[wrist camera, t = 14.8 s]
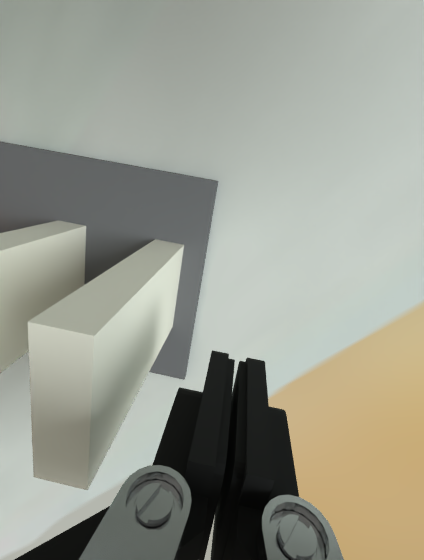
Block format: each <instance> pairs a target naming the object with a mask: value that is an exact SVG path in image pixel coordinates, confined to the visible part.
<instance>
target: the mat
mask: <svg viewBox="0 0 424 560" xmlns="http://www.w3.org/2000/svg"><path fill="white" fill-rule="evenodd" d="M217 185H218V181H215V180H209V179H204V178H198V177H193V176H187V175H182V174H176V173H171V172H165V171H160V170H154V169H149V168H143V167H138V166H132V165H127V164H121V163H115V162H110V161H104V160H99V159H93V158H88V157H82V156H77V155H71V154H66V153H60V152H55V151H49V150H44V149H38V148H33V147H27V146H22V145H16V144H10V143H5V142H0V233H4V232H8V231H13V230H17V229H22V228H26V227H31V226H35V225H40V224H44V223H49V222H53V221H58V220H59V221H64V222H69V223H74V224H80V225H85V226H86V248H85V282H84V285H85V284H87V283H88V282H90V281H91V280H93V279H95V278H96V277H98V276H99V275H101V274H102V273H104V272H105V271H107V270H108V269H110V268H112V267H113V266H115V265H116V264H118V263H119V262H121V261H122V260H124V259H125V258H127V257H129V256H130V255H132V254H133V253H135V252H136V251H138V250H139V249H141V248H142V247H144V246H146V245H147V244H149V243H150V242H152V241H153V240H155V239H157V240H162V241H167V242H172V243H177V244H182V245H184V250H183V257H182V264H181V271H180V278H179V285H178V292H177V299H176V306H175V314H174V321H173V327H172V329H171V331H170V333H169V335H168V337H167V338H166V340H165V342H164V344H163V346H162V348H161V350H160V352H159V354H158V356H157V358H156V360H155V362H154V363H153V365H152V367H151V369H150V371H149V372H152V373H157V374H161V375H166V376H170V377H175V378H179V379H185V376H186V371H187V365H188V359H189V353H190V347H191V341H192V335H193V329H194V323H195V317H196V311H197V305H198V299H199V293H200V287H201V281H202V275H203V269H204V263H205V257H206V251H207V245H208V239H209V233H210V227H211V221H212V215H213V209H214V203H215V197H216V191H217Z"/></svg>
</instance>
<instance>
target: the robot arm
mask: <svg viewBox="0 0 424 560" xmlns="http://www.w3.org/2000/svg"><path fill="white" fill-rule="evenodd" d="M228 356H229V354H227V353H222V352H217V351H212V353H211V358H210V362H209V367H208V371H207V376H206V381H205V385H204V390H203V392H198V391H193V390H189V389H184V388H179V389H178V392H177V395H176V397H175V400H174V403H173V406H172V409H171V412H170V415H169V418H168V421H167V424H166V427H165V430H164V433H163V436H162V439H161V442H160V445H159V448H158V451H157V454H156V457H155V460H154V462H153V465H152V466H147V467H144V468H141V469H139V470H137V471H136V472H135V473H133V474H132V475H130V476H129V478H128V479H127V480H126V481H125V483H124V484H123V485H122V487H121V489H120V490H119V492H118V494H117V496H116V497H115V499H114V501H113V502H112V504H111V506H109V507H107V508H106V509H104V510H102V511H100V512H99V513H97V514H95V515H93V516H91V517H90V518H88V519H86V520H84V521H82V522H81V523H79V524H77V525H75V526H73V527H72V528H70V529H69V530H66V531H65V532H63V533H61V534H59V535H57V536H56V537H54V538H52V539H51V540H49V541H47V542H45V543H43V544H41V545H40V546H38V547H36V548H34V549H33V550H31V551H29V552H27V553H25V554H24V555H22V556H20V557H18V558H17V559H15V560H204V557H205V553H206V549H207V545H208V540H209V536H210V532H211V528H212V524H213V519H214V515H215V521H214V530H213V540H212V550H211V560H344V559H343V556H342V554H341V551H340V548H339V545H338V543H337V540H336V537H335V535H334V532H333V530H332V528H331V526H330V524H329V523H328V521H327V520H326V518H325V517H324V516H323V515H322V513H321V512H320V511H319V510H318V509H317V508H315V507H314V506H313V505H312V504H311V503H309V502H307V501H305V500H304V499H302V498H300V497H299V494H298V487H297V481H296V475H295V468H294V461H293V456H292V449H291V442H290V436H289V429H288V423H287V416H286V412H285V411H284V410H282V409H278V408H272V407H268V395H267V383H266V371H265V362H264V361H261V360H256V359H251V358H247V359H246V362H243V361H240V362H239V365H238V370H237V374H236V379H235V383H234V388H233V392H232V386H233V374H234V362H235V360H233V359H228Z"/></svg>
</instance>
